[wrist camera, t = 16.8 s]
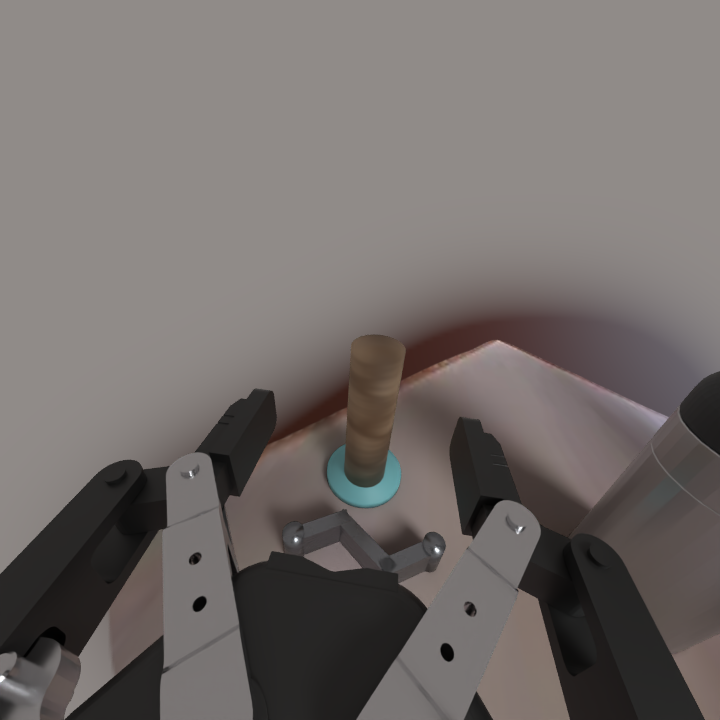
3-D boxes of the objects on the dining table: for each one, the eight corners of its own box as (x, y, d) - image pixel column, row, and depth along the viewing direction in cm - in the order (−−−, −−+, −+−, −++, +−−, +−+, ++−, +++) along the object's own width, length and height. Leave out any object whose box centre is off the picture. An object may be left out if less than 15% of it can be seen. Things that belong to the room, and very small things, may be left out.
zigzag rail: (432, 532, 29) (439, 513, 27) (443, 596, 24) (452, 579, 23) (291, 521, 29) (290, 502, 27) (277, 583, 24) (273, 565, 23)
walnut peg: (378, 450, 36) (395, 333, 27) (389, 484, 32) (413, 360, 24) (340, 455, 35) (346, 335, 26) (348, 490, 31) (357, 363, 23)
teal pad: (387, 441, 38) (388, 436, 38) (410, 500, 31) (412, 496, 31) (323, 449, 36) (322, 445, 36) (332, 514, 30) (332, 510, 29)
